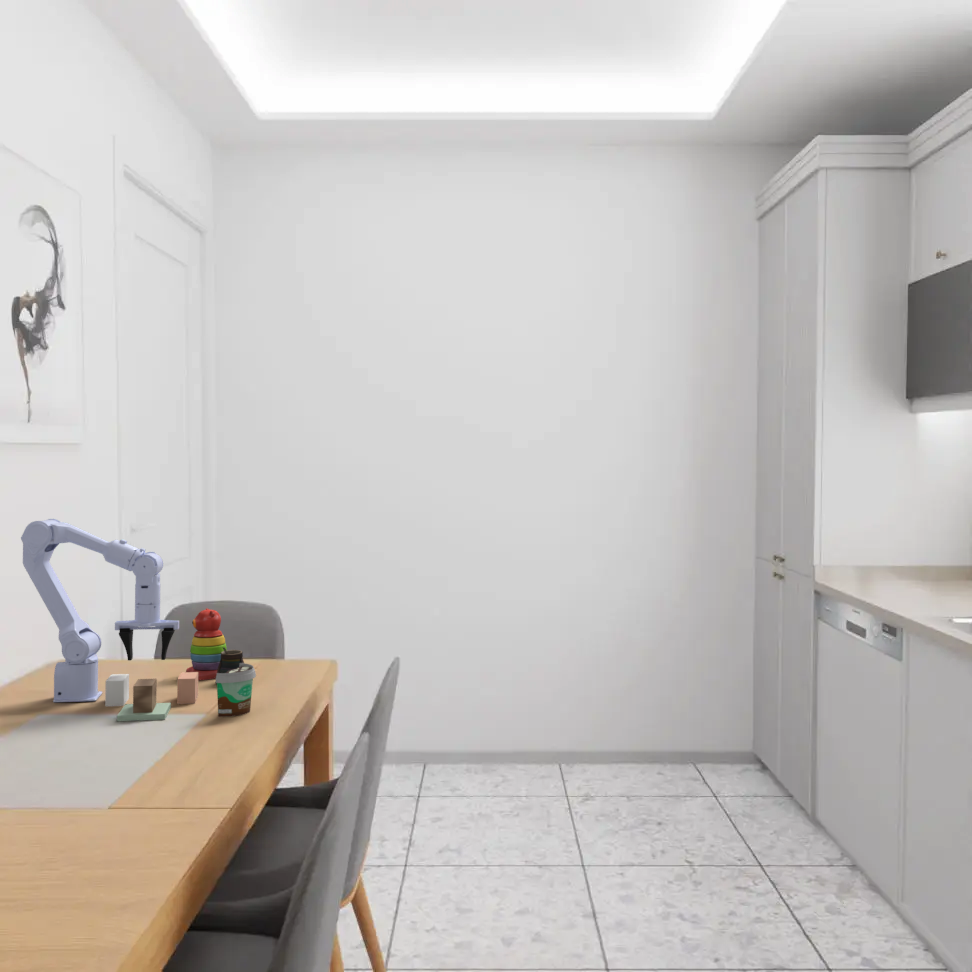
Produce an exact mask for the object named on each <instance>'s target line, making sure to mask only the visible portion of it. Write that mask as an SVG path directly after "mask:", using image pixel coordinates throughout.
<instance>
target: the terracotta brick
mask: <svg viewBox="0 0 972 972" xmlns="http://www.w3.org/2000/svg"><path fill="white" fill-rule="evenodd" d="M176 688H177V693H176V694H177V695H176V696H177V697H176V698H177V700H176V701H177V705H183V704H184V705H185V704H186V705H188V704H189V705H190V704H196V703H197V699H198V697H199V681H198V672H186V671H185V672H184V671H181V672H180V674H179V675H178V678H177V687H176Z"/></svg>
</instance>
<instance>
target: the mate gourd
mask: <svg viewBox="0 0 972 972" xmlns="http://www.w3.org/2000/svg"><path fill="white" fill-rule="evenodd" d="M222 648H223V647H222ZM223 649H224V651H223V652H221V660H220V663H219V666H218V669H217V673H226V672H227V671H229V670H233V669H236V668H238V667H239V666H240V663H245V661H244V658H243V657H244V656H243V653H244V652H243V651H242V650H240V649H227V650H226V649H225V648H223Z"/></svg>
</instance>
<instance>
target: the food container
mask: <svg viewBox="0 0 972 972" xmlns="http://www.w3.org/2000/svg"><path fill="white" fill-rule="evenodd" d="M254 667H255V666H254V665H252V664H250V663H246V662H244V663H240V666H239V667H238V668H236V669H233V670H229V671H227V672H226V673H217V676H216V678H215V683H216V690H217V691H216V692H217V716H218V717H220V718H221V717H223V718H224V717H225V718H228V717H230V718H231V717H237V716H238V717H239V716H243V715H247V714H248V713H250V712H251V706H252V692H253V681H254V679H255V678H256V676H257V673H256V670H255V668H254Z"/></svg>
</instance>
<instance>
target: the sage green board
mask: <svg viewBox="0 0 972 972" xmlns="http://www.w3.org/2000/svg"><path fill="white" fill-rule="evenodd" d="M171 709H172V703H171V702H156V706H155V708H154V710H153V712H151V713H133V703H125V705H124V706H122V708H121V710H120V711H119V712H118V714H117V715H116V721H117V722H130V721H131V722H132V721H158V720H161V721H162V720H166V718H167V716H168V714H169V712H170V710H171Z"/></svg>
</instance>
